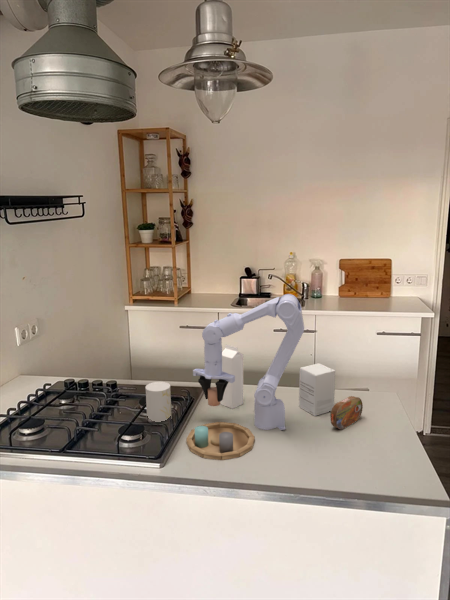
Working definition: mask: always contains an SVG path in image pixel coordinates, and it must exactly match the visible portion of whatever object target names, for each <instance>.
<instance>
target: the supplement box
mask: <svg viewBox="0 0 450 600" xmlns="http://www.w3.org/2000/svg"><path fill="white" fill-rule="evenodd" d="M298 380H299V385H298V387H299V389H298V395H299V396H298V407H299V408H300V409H302V410H303V409H304V410H303V411H305V412H307V413H309V414H311V415H312V416H314V417H317V416H321V415H323V414H326V413H329V411H330V412H331V410H332V408H333V406H334V405H335V396H336V395H335V394H336V393H335V390H336V388H335V387H336V386H335V385H336V370H335V369H333V368H330V367H329V366H326V365H324V364H322V363H319V362H318V363H314V364H310V365H306V366H305V365H304V366H302V367H299V379H298Z"/></svg>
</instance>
